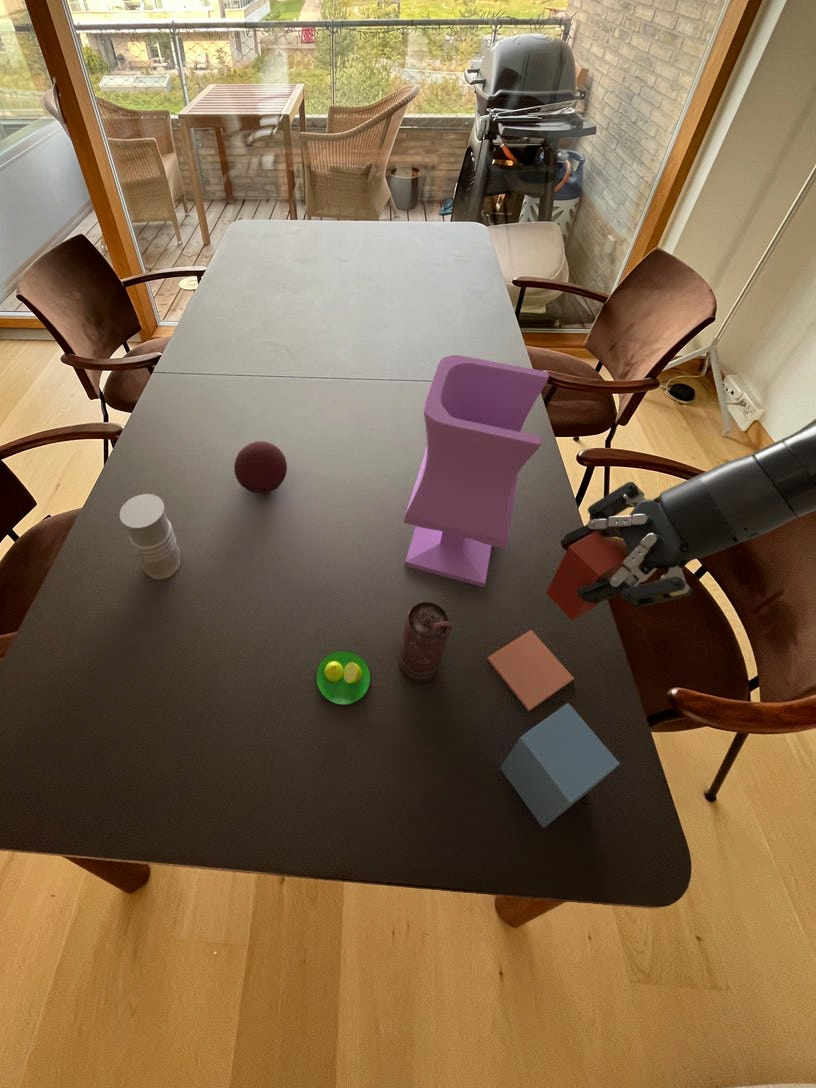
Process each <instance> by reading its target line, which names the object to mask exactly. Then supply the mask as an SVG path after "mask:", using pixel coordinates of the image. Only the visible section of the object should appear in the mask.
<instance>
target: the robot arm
mask: <svg viewBox="0 0 816 1088" xmlns="http://www.w3.org/2000/svg"><path fill="white" fill-rule="evenodd" d="M629 508H633V509H632V510H631V512H630V514H628V515H619V514H620V513H623V511H625V510H627V509H629ZM815 511H816V418H814V419H813V420H812V421H810V422H809V423H807V424H806V425H805V426H803V427H802V428H801V429H799V430H797V431H796V432H794V433H792V434H790V435H788V436H786V437H784V438H782V439H781V440H780V439H779V440H777V441H775V442H773V443H771V444H769V445H767V446H765V447H762V448H760V449H758V450H756V451H754V452H752V453H749V454H745V455H744V456H741V457H738V458H735V459H732V460H729V461H726V462H723V463H721V464H719V465H717V466H714V467H713V468H710V469H709V470H707V471H704V472H702V473H700V474H698V475H696V476H693V477H691V478H689V479H687V480H685V481H683V482H681V483H679V484H677V485H675V486H672V487H669V488H667V489H666V490H664V491H662V492H660V494H659V495H658V496H657V497H655V498H646V497H645V493H644V491H642V490H641V488H639V486H638V485H637V484H635V482H633V481H627V482H626V483H624V484H623V485H621V486H619V487H618V488H616V489H615V490H613V491H612V492H610V493H608V494H607V495H605V496H604V497H602V498H600V499H599V500H597V501H596V502H593V504H591V505H589V506H588V508H587V513H588V514H589V520H588V522H587V523H586V524H585V525H583V526H581V527H579V528H576V529H575V530H572V531H571V532H569V533H566V534H565V535H564V536H563V539H561V540H560V545H561V547H562V549H563V550H565V551H567V549H568V547H569V546H571V545H573V544H574V543H576V542H578V541H579V540H581V539H583V538H585V537H586V536H588V535H590V534H591V533H593V532H595V531H597V532H598V533H600V534H601V535H602V536H603V537H604V538H605V539H607V538H616V539H619V540H623V541H624V542H625V546H626V551H627V554H628V556H626V559H625V560H624V561H623V563H622V567H621V568H620V569H619V570H618V571H617V572H616V573H615V574H614V576H613V577H612V578H611V579H610V580H609V579H608V578H604V579H602V580H599V581H597V582H594V583H592V584H589V585H587V586H585V587H582V588H580V589H578V590H577V593H578V596H579V597H580V598H581V599H582V600H584V601H585V602H590V603H591V604H597V603H599V602H600V603H601V602H604V601H607V600H609V599H612V598H615V597H617V596H621V598H622V599H623V600H624V601H626V602H628V603H629V604H630V605H631V606H632V607H634V609H635V608H636V609H640V608H644V607H648V606H653V605H657V604H662V603H666V602H671V601H674V600H679V599H683V598H687V597H690V596H691V595H692V594H693V589H692V588H691V586H689V584H688V583H687V581H686V578H685V575H684V572H683V569H684V568H685V567H686V566H687V565H688V564H689V563H690V562H691V561H694V560H698V559H704V558H706V557H708V556H711V555H714V554H716V553H718V552H721V551H723V550H726V549H729V548H732V547H734V546H737V545H739V544H742V543H744V542H746V541H749V540H750V541H751V540H754V539H756V538H759V537H760V536H762V535H764V534H767V533H769V532H772V531H774V530H776V529H777V528H780V527H781V526H783V525H786V524H787V523H788V522H790V521H792V520H795V519H797V518H799V517H802V516H805V515H807V514H809V513H812V512H815ZM618 515H619V516H618ZM657 570H662V571H663V570H664V571H667V572H666V573H665V574H662V575H661V576H660V578H659V580H654V581H651V582H647V583H644V582H646V581H647V580H648V579H649V578H650V577H652V575H653V574H654V573H655V572H656V571H657ZM641 583H643V584H641ZM600 603H599V604H600Z"/></svg>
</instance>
